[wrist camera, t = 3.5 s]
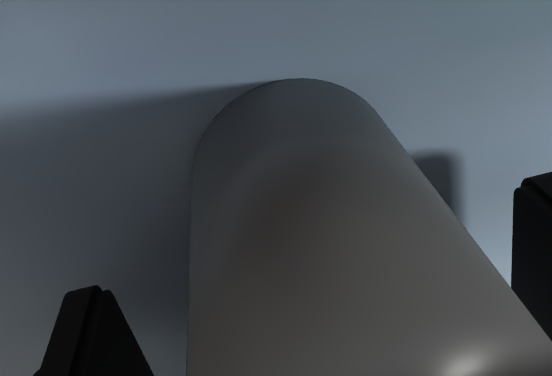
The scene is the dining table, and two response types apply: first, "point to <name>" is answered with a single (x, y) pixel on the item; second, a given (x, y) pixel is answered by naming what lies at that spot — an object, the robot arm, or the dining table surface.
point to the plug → (337, 252)
